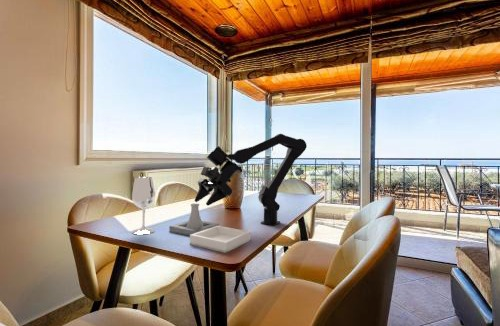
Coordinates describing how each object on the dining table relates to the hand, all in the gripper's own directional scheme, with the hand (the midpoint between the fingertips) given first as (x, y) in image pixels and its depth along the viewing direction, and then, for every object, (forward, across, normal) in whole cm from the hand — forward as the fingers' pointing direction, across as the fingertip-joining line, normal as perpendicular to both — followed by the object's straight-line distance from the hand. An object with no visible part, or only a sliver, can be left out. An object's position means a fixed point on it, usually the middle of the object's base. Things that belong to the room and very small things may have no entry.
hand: (200, 203), depth 101 cm
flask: (+9, 0, +6) cm, 11 cm away
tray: (+9, +18, +6) cm, 21 cm away
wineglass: (+20, -9, -6) cm, 23 cm away
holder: (+9, 0, +5) cm, 10 cm away
